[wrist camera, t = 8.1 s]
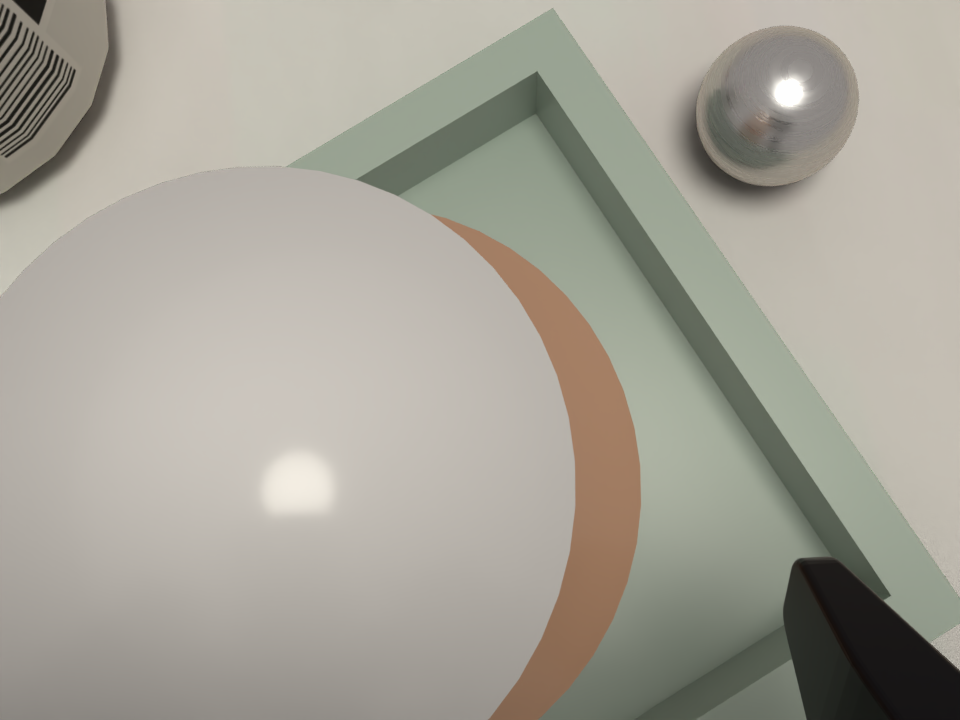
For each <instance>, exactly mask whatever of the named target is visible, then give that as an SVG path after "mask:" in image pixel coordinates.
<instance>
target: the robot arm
mask: <svg viewBox="0 0 960 720" xmlns="http://www.w3.org/2000/svg"><path fill="white" fill-rule="evenodd" d="M783 621H784V628H785V632H786V636H787V641H788V645H789V649H790V653H791V657H792V661H793V665H794V670H795V674H796V678H797V682H798V686H799V690H800V694H801V699H802V703H803V707H804V711H805V715H806V719H807V720H960V670H959V669H958V668H957V667H955V666H954V665H953V664H952V663H951V662H950V661H949V660H948V659H947V658H946V657H945V656H943V655H942V654H941V653H940V652H939V651H938V650H937V649H936V648H935V647H934V646H933V645H931V644H930V643H929V642H928V641H927V640H926V639H925V638H924V637H923V636H922V635H921V634H919V633H918V632H917V631H916V630H915V629H914V628H913V627H912V626H911V625H910V624H909V623H907V622H906V621H905V620H904V619H903V618H902V617H901V616H900V615H899V614H898V613H897V612H895V611H894V610H893V609H892V608H891V607H890V606H889V605H888V604H887V603H886V602H885V601H883V600H882V599H881V598H880V597H879V596H878V595H877V594H876V593H875V592H874V591H873V590H871V589H870V588H869V587H868V586H867V585H866V584H865V583H864V582H863V581H862V580H861V579H859V578H858V577H857V576H856V575H855V574H854V573H853V572H852V571H851V570H850V569H848V568H847V567H846V566H845V565H844V564H843V563H842V562H841V561H839V560H838V559H836V558H833V557H828V556H824V557H805V558H798V559H797V560H795V561H794V563H793V565H792V567H791V572H790V577H789V581H788V586H787V591H786V596H785V600H784V605H783Z"/></svg>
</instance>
